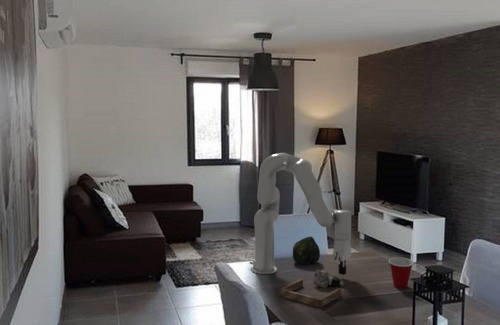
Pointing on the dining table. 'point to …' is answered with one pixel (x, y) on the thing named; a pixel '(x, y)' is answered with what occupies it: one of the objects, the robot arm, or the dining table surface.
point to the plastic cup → (400, 271)
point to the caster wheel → (325, 279)
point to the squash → (306, 251)
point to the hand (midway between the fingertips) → (342, 273)
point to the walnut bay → (321, 302)
